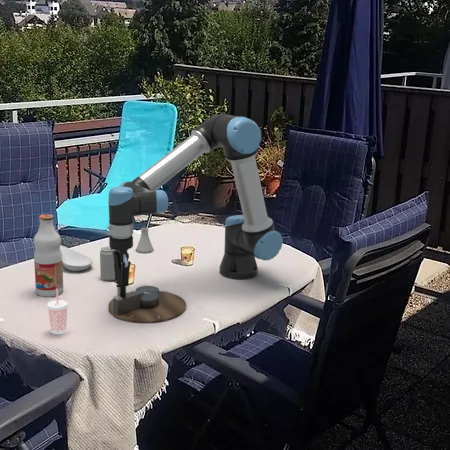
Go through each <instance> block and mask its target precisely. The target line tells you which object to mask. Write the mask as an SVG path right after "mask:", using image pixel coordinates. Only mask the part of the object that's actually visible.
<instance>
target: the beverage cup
mask: <svg viewBox="0 0 450 450" xmlns="http://www.w3.org/2000/svg"><path fill="white" fill-rule="evenodd" d="M55 297H56V300H52V301H48V303H46V305H47V309H48V316H49V325H50V326H49V327H50V333H51V334H53V335H62V334H65V333H66V332H67V328H68V327H67V325H68V324H67V323H68V320H67V319H68V318H67V317H68V306H69V302H68V301H67V300H65V299H64V300H63V299H62V300H61V299H59V295H58V288H56V296H55Z"/></svg>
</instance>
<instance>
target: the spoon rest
mask: <svg viewBox="0 0 450 450" xmlns="http://www.w3.org/2000/svg"><path fill="white" fill-rule="evenodd" d="M60 250H61V253H62V266H64V267H65V268H66V269H67V270H69V271H71V272H81V271H85V270H87V269H88V268H90V267H91V266H92V265H93V263H94V260H93V258H91V257H89V256H88V255H85V254H82V253H80V252H79V251H76V250H74V249H72V248H69V247H67V246H65V245H61V244H60Z"/></svg>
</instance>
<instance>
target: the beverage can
mask: <svg viewBox="0 0 450 450" xmlns="http://www.w3.org/2000/svg"><path fill="white" fill-rule="evenodd" d="M113 251H115V250H114V249H112V248H110V246H104V247H101V248H100V251H99V265H100V266H99V267H100V269H99V270H100V273H99V274H100V279H101V280H102V281H105V282H111V281H116V280H115V270H114V258H113V253H112V252H113Z"/></svg>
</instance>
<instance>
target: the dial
mask: <svg viewBox="0 0 450 450" xmlns="http://www.w3.org/2000/svg"><path fill="white" fill-rule="evenodd" d="M134 291H135V292H133V291H131V292H132V293H129V294H126V295H125V296H118V295H114V296H113V297H112V299H113V313H115V314H117V315H119V314H123V313H126V312H129V311H132V310H135V309H138V308H154V307H157V306H158V305H159V291H160V288H159V287H157V286H154V285H142V286H139V287H137V288H136V289H135V290H134Z"/></svg>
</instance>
